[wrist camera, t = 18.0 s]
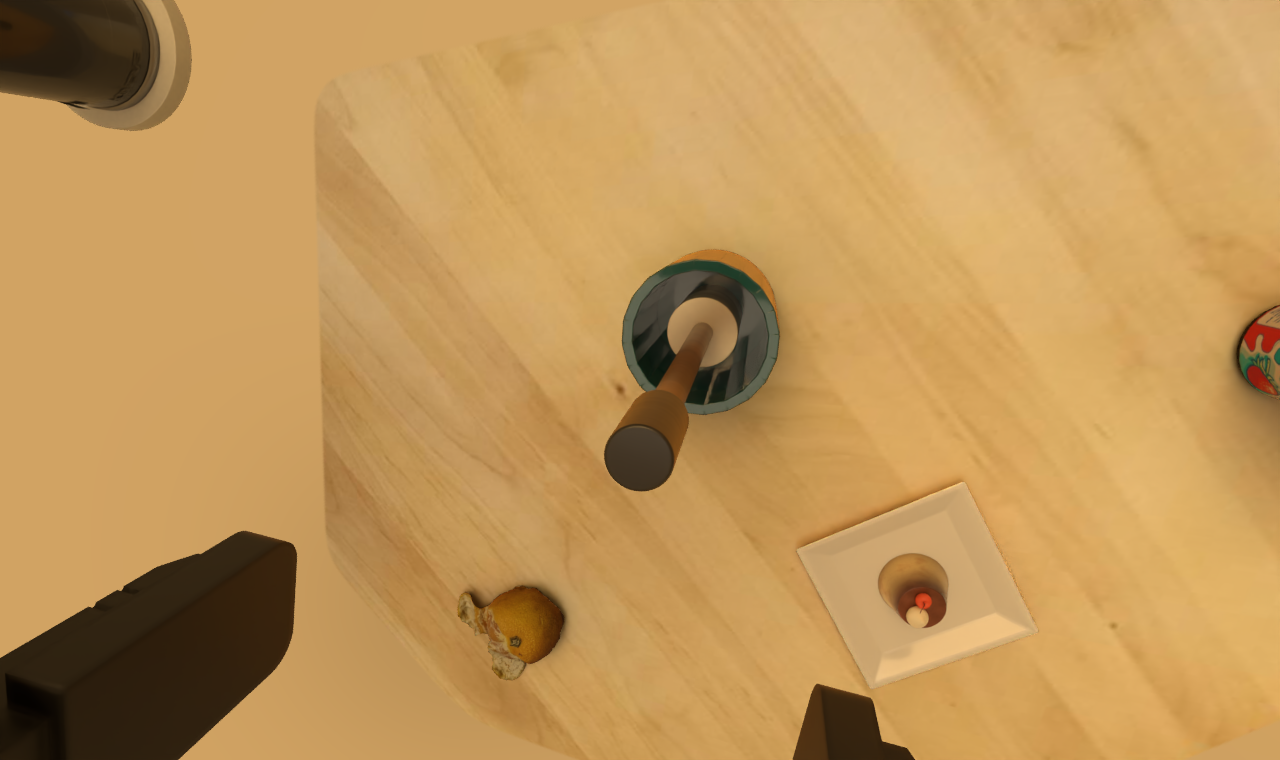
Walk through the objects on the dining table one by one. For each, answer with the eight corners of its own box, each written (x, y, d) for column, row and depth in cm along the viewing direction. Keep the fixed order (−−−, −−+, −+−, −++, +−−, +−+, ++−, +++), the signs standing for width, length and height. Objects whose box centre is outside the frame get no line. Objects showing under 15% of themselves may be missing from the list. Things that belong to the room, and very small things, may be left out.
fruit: (448, 599, 56) (427, 625, 52) (531, 556, 54) (514, 580, 50) (505, 681, 57) (488, 713, 53) (588, 642, 55) (576, 672, 51)
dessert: (960, 474, 47) (981, 503, 42) (1033, 623, 48) (1061, 666, 44) (794, 542, 50) (797, 576, 45) (868, 680, 51) (878, 726, 47)
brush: (668, 317, 47) (541, 461, 20) (708, 272, 46) (629, 359, 19) (713, 357, 47) (646, 552, 20) (754, 312, 46) (741, 456, 19)
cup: (625, 318, 48) (591, 345, 39) (706, 222, 46) (691, 225, 36) (717, 398, 48) (706, 444, 39) (802, 307, 46) (813, 332, 36)
